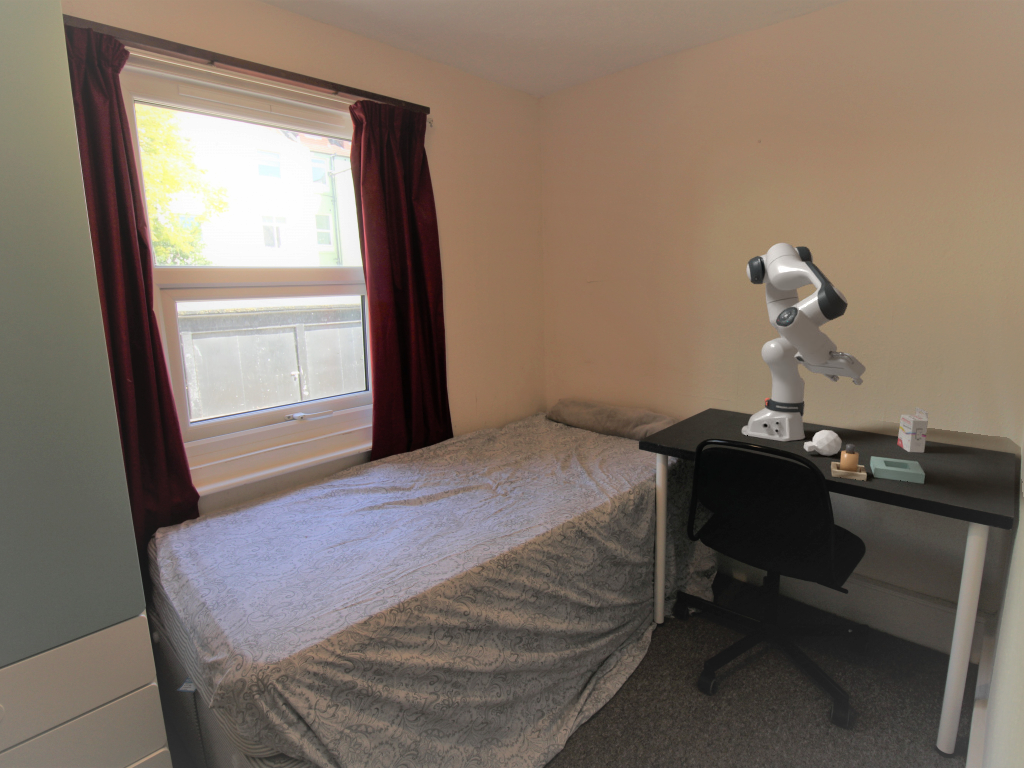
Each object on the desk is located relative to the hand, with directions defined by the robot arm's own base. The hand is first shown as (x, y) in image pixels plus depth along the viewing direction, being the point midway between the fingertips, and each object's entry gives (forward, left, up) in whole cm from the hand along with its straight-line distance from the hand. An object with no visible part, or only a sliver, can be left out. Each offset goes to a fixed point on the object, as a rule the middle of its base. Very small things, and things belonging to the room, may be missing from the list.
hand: (847, 381), depth 160 cm
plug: (+2, -1, -29) cm, 29 cm away
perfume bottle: (-4, +17, -29) cm, 34 cm away
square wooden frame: (+3, -1, -29) cm, 29 cm away
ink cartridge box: (+23, +37, -29) cm, 53 cm away
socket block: (+16, +6, -29) cm, 34 cm away
